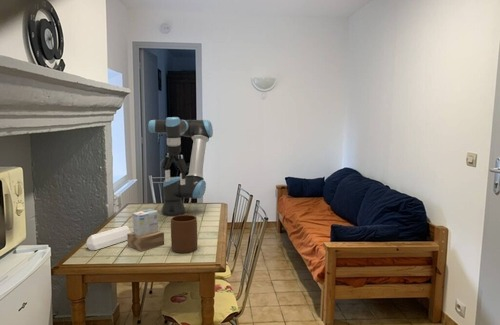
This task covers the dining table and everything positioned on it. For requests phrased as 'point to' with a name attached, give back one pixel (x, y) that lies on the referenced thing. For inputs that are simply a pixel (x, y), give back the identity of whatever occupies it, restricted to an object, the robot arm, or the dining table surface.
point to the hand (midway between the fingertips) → (175, 182)
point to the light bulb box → (145, 222)
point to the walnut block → (145, 241)
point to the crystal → (108, 238)
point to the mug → (184, 233)
